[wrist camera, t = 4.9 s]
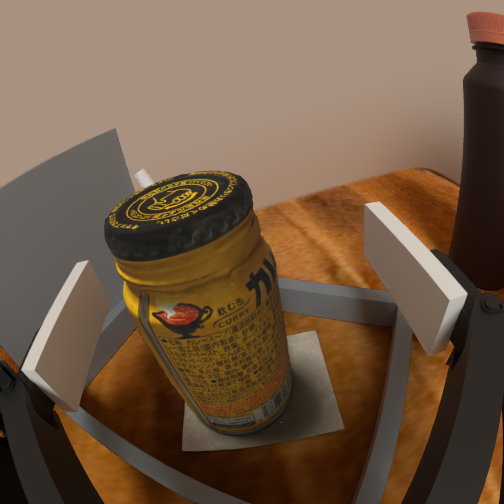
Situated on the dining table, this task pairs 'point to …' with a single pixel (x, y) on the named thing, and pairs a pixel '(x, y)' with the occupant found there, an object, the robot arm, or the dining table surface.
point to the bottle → (482, 159)
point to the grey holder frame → (118, 318)
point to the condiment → (218, 314)
